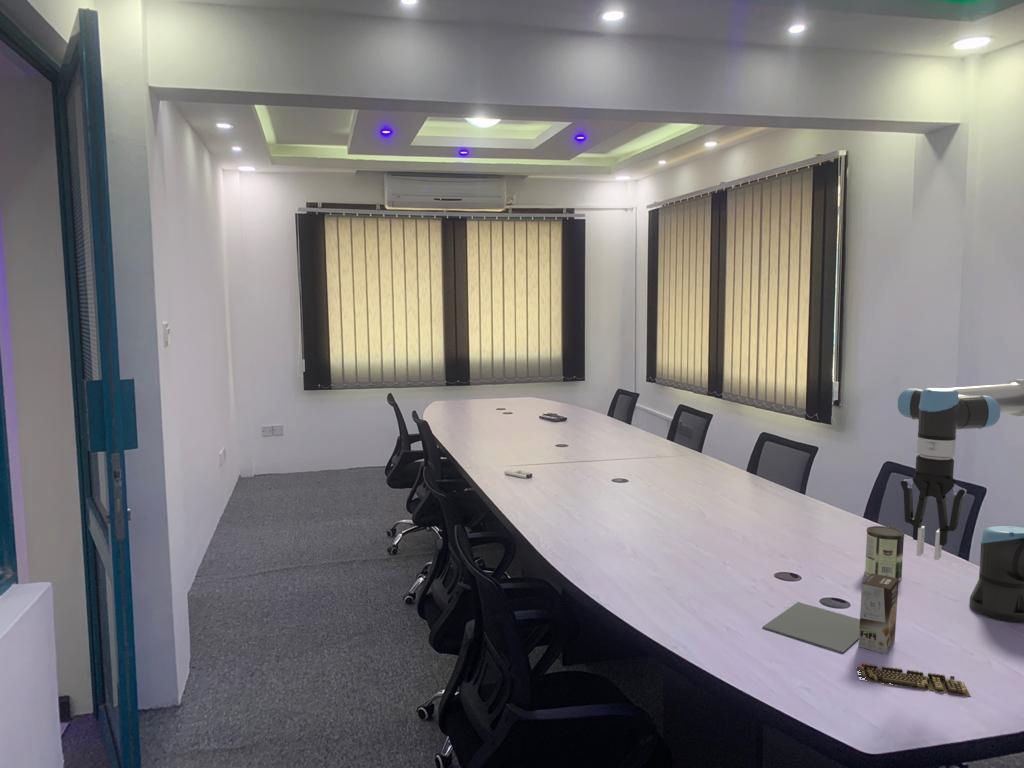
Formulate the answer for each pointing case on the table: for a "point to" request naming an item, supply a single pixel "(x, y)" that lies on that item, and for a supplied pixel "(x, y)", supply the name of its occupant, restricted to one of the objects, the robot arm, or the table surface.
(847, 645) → the topple mat
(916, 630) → the table surface
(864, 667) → the keyboard
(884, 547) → the coffee can
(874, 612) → the coffee box
